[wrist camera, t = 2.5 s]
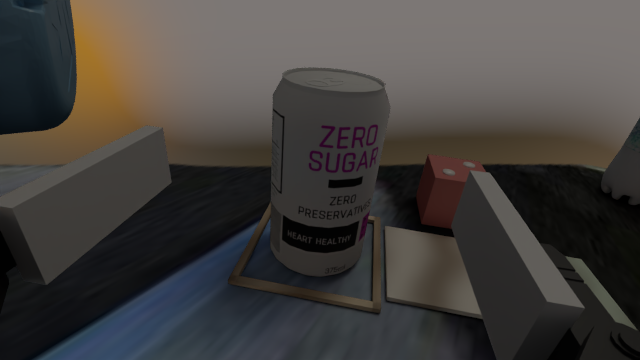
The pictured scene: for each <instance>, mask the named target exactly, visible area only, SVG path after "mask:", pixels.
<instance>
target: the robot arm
mask: <svg viewBox="0 0 640 360" xmlns="http://www.w3.org/2000/svg"><path fill="white" fill-rule="evenodd" d="M76 76H77V74H76V50H75V39H74V28H73V20H72V13H71V5H70V0H0V135H2V134H12V133H22V132H33V131H44V130H48V129H51V128H55V127H57V126H59V125H60V124H61V123H63V122H64V121H65V120H66V119H67V118H68V117H69V115H70V113H71V111H72V109H73V105H74V102H75V95H76V80H77V78H76ZM170 183H171V176H170V170H169V164H168V159H167V152H166V145H165V139H164V132H163V128H160V127H154V126H145V127H143V128H140V129H138V130H136V131H134V132H132V133H130V134H128V135H126V136H124V137H122V138H120V139H118V140H116V141H114V142H112V143H110V144H108V145H106V146H104V147H101V148H99V149H97V150H96V151H93V152H91V153H89V154H87V155H85V156H83V157H81V158H79V159H77V160H75V161H73V162H71V163H69V164H66V165H64V166H62V167H60V168H58V169H56V170H54V171H52V172H50V173H48V174H46V175H44V176H42V177H40V178H38V179H36V180H34V181H32V182H29V183H27V184H25V185H23V186H21V187H19V188H17V189H15V190H13V191H11V192H9V193H7V194H5V195H3V196H1V197H0V313H1V309H2V306H3V302H4V299H5V296H6V292H7V289H8V285H9V279H8V277H7V275H6V272H7V271H9V270H10V269H12V268H13V267H15V266H17V268H18V270H19V272H20V274H21V276H22V278H23V280H24V281H28V282H33V283H38V284H43V285H47V284H48V283H49V282H51V281H52V280H53V279H54V278H56V277H57V276H58V275H59V274H60V273H62V272H63V271H64V270H65V269H67V268H68V267H69V266H70V265H71V264H73V263H74V262H75V261H76V260H78V259H79V258H80V257H81V256H82V255H84V254H85V253H86V252H87V251H88V250H90V249H91V248H92V247H93V246H95V245H96V244H97V243H98V242H99V241H101V240H102V239H103V238H104V237H106V236H107V235H108V234H109V233H110V232H112V231H113V230H114V229H115V228H116V227H118V226H119V225H120V224H121V223H123V222H124V221H125V220H126V219H127V218H129V217H130V216H131V215H132V214H134V213H135V212H136V211H137V210H138V209H140V208H141V207H142V206H143V205H145V204H146V203H147V202H148V201H149V200H151V199H152V198H153V197H154V196H155V195H157V194H158V193H159V192H160V191H162V190H163V189H164V188H165V187H166V186H168V185H169V184H170ZM451 228H452V231H453V234H454V236H455V239H456V242H457V245H458V248H459V251H460V254H461V257H462V260H463V263H464V265H465V268H466V271H467V274H468V277H469V280H470V283H471V286H472V289H473V292H474V294H475V297H476V300H477V303H478V306H479V309H480V312H481V315H482V318H483V321H484V323H485V326H486V329H487V332H488V335H489V338H490V341H491V344H492V347H493V350H494V352H495V355H496V358H497V360H640V332H639V331H638V330H635V329H633V328H631V327H629V326H627V325H625V324H622V323H618V322H615V320H614V319H613V318H612V316H611V315H610V314H609V313H608V311H607V310H606V309H605V307H604V306H603V305H602V303H601V302H600V301H599V300H598V298H597V297H596V296H595V294H594V293H593V292H592V290H591V289H590V288H589V287H588V285H587V284H585V283H584V280H583V279H582V278H581V276H580V275H579V274H578V273H577V272H575V268H574V267H573V266H572V265H571V263H570V262H569V261H568V259H567V258H566V257H565V256H564V255H562V254H561V253H560V252H559V251H557V250H556V249H555V248H554V247H552V246H551V245H548V244H542V243H539V242H538V241H537V239H536V238H535V236H534V235H533V234H532V232H531V231H530V229H529V228H528V227H527V225H526V224H525V222H524V221H523V219H522V218H521V217H520V215H519V214H518V212H517V211H516V209H515V208H514V207H513V205H512V204H511V202H510V201H509V199H508V198H507V197H506V195H505V194H504V192H503V191H502V190H501V188H500V187H499V185H498V184H497V182H496V181H495V180H494V178H493V177H492V175H491V174H490V173H487V172H480V171H472V170H470V171H469V174H468V177H467V180H466V183H465V186H464V189H463V192H462V195H461V198H460V201H459V204H458V207H457V210H456V213H455V215H454V218H453V221H452V224H451Z"/></svg>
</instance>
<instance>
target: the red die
mask: <svg viewBox="0 0 640 360" xmlns="http://www.w3.org/2000/svg"><path fill="white" fill-rule="evenodd" d="M470 170H472V171H480V172H486V171H485V169H484V168H483V166H482V165H481V163H480V162H478V161H470V160H463V159H457V158H450V157H444V156H437V155H429V154H428V156H427V159H426V163H425V166H424V170H423V173H422V177H421V180H420V184H419V187H418V191H417V195H416V199H417V204H418V209H419V214H420V219H421V224H425V225H431V226H437V227H443V228H449V229H452V228H451V224H452V221H453V218H454V215H455V213H456V210H457V207H458V204H459V201H460V198H461V195H462V192H463V189H464V186H465V183H466V180H467V177H468V174H469V171H470Z"/></svg>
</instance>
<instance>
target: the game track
mask: <svg viewBox="0 0 640 360" xmlns="http://www.w3.org/2000/svg"><path fill="white" fill-rule="evenodd" d="M270 217H271V203H270V204H269V206H268V208H267V210H266V212H265V214H264V215H263V217H262V219H261V221H260V223H259V224H258V226H257V228H256V230H255V232H254V234H253V235H252V237H251V239H250V241H249V243H248V245H247V246H246V248H245V250H244V252H243V254H242V255H241V257H240V259H239V261H238V263H237V265H236V266H235V268H234V270H233V272H232V274H231V275H230V277H229V279H228V284H232V285H238V286H243V287H248V288H253V289H258V290H263V291H268V292H273V293H278V294H284V295H289V296H294V297H299V298H304V299H309V300H314V301H319V302H324V303H329V304H335V305H340V306H345V307H350V308H355V309H360V310H365V311H370V312H375V313H380V311H381V257H380V218H379V217H373V216H369V217H368V222H370V223H374V232H373V276H372V301H368V300H362V299H357V298H352V297H347V296H342V295H336V294H331V293H326V292H321V291H316V290H311V289H305V288H300V287H295V286H290V285H285V284H279V283H274V282H269V281H264V280H259V279H253V278H248V277H243V276H241V274H242V272H243V270H244V268H245V266H246V264H247V262H248V260H249V258H250V256H251V254H252V252H253V251H254V249H255V247H256V245H257V243H258V241H259V239H260V237H261V235H262V233H263V231H264V229H265V227H266V225H267V223H268V221H269V219H270ZM566 258H567V259H568V261H569V262H570V263H571V265H572V266H573V267H574V268H575V272H577V273H578V274H579V275H580V276H581V278H582V279H583V280H584V283H585V284H587V285H588V287H589V288H590V289H591V290H592V292H593V293H594V294H595V296H596V297H597V298H598V300H599V301H600V302H601V303H602V305H603V306H604V307H605V309H606V310H607V311H608V313H609V314H610V315H611V316H612V318H613V319H614V320H615V322H618V323H622V324H625V325H627V326H629V327H631V328H633V329H635V330H637V329H636V328H635V326H634V325H633V324H632V323H631V321H630V320H629V319H628V318H627V316H626V315H625V314H624V313H623V311H622V310H621V309H620V308H619V306H618V305H617V304H616V303H615V301H614V300H613V299H612V298H611V296H610V295H609V294H608V292H607V291H606V290H605V289H604V287H603V286H602V285H601V284H600V282H599V281H598V280H597V279H596V277H595V276H594V275H593V274H592V272H591V271H590V270H589V269H588V267H587V266H586V265H585V264H584V262H583V261H582V260H581V259H577V258H571V257H566ZM385 267H386V300H387V301H392V302H397V303H402V304H407V305H413V306H418V307H423V308H428V309H433V310H439V311H444V312H449V313H454V314H460V315H465V316H470V317H475V318H480V319H483V318H482V315H481V312H480V309H479V306H478V303H477V300H476V297H475V294H474V292H473V289H472V286H471V283H470V280H469V277H468V274H467V271H466V268H465V265H464V263H463V260H462V257H461V254H460V251H459V248H458V245H457V242H456V239H455V238H453V237H447V236H441V235H436V234H430V233H424V232H418V231H412V230H406V229H400V228H394V227H388V226H385Z"/></svg>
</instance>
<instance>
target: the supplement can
mask: <svg viewBox="0 0 640 360" xmlns="http://www.w3.org/2000/svg"><path fill="white" fill-rule="evenodd" d="M389 113H390V104H389V101H388V98H387V94H386V91H385V83H384V82H383V81H382V80H380V79H378V78H375V77H373V76H370V75H366V74H362V73H358V72H353V71H346V70H340V69H331V68H296V69H292V70H287V71H285V72H284V73H283V78H282V80H281V81H280V83H279V85H278V87H277V88H276V90H275V92H274V94H273V122H272V124H273V125H272V175H271V229H270V248H271V250H272V252H273V253H274V255H275V257H276V259H277V260H279V261H280V262H281V263H282V264H284V265H285V266H286V267H287V268H289V269H291V270H293V271H296V272H298V273H301V274H304V275H307V276H318V277H323V276H328V275H334V274H338V273H341V272H343V271H345V270H346V269H348V268H350V267H352V266H353V265H354V264H355V263H356V261H357V260H358V259H359V258H360V256H361V251H362V246H363V241H364V236H365V231H366V226H367V222H368V217H369V212H370V207H371V202H372V197H373V192H374V187H375V182H376V177H377V172H378V168H379V163H380V158H381V153H382V147H383V143H384V138H385V133H386V128H387V123H388V118H389Z"/></svg>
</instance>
